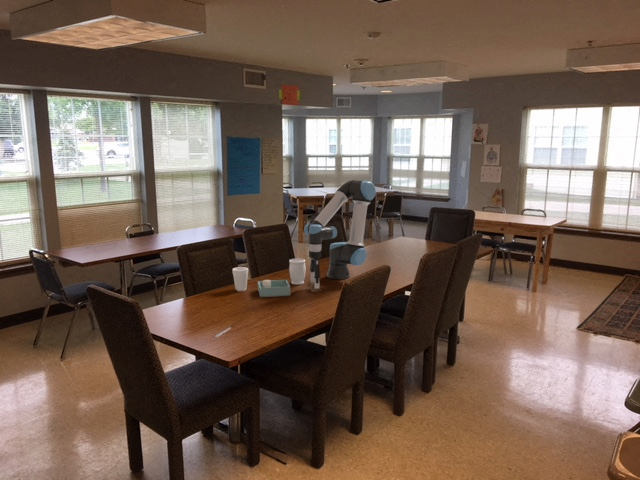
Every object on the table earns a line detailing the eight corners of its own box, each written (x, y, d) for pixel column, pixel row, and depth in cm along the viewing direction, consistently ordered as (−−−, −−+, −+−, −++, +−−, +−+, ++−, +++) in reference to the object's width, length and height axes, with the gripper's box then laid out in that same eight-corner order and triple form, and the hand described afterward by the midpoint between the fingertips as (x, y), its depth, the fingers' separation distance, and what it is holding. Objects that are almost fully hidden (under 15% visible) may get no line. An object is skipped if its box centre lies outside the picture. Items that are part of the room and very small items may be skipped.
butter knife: (212, 335, 234) (217, 336, 233) (241, 318, 259) (247, 318, 258) (212, 337, 234) (217, 337, 233) (241, 319, 259) (247, 319, 258)
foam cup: (252, 289, 310) (251, 268, 308) (241, 292, 303) (241, 271, 300) (240, 286, 316) (239, 266, 313) (229, 290, 308) (229, 269, 306)
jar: (303, 285, 318) (303, 262, 315) (287, 284, 320) (287, 261, 317) (307, 281, 328) (307, 258, 325) (291, 280, 330) (291, 257, 327)
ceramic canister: (270, 290, 305) (270, 279, 303) (271, 293, 300) (271, 281, 298) (262, 291, 304) (262, 279, 302) (263, 293, 299) (262, 282, 298)
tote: (287, 288, 312) (286, 279, 311) (290, 295, 297) (290, 286, 296) (258, 289, 309) (257, 281, 308) (260, 297, 293) (259, 288, 292)
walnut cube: (318, 289, 310) (318, 281, 309) (320, 291, 305) (320, 283, 304) (310, 289, 309) (310, 281, 308) (312, 292, 304) (312, 284, 303)
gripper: (305, 247, 314) (305, 280, 317) (312, 255, 289) (312, 291, 293) (317, 246, 315) (317, 280, 319) (325, 254, 291) (325, 290, 295)
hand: (314, 285), depth 306 cm, fingers open, 13 cm apart
